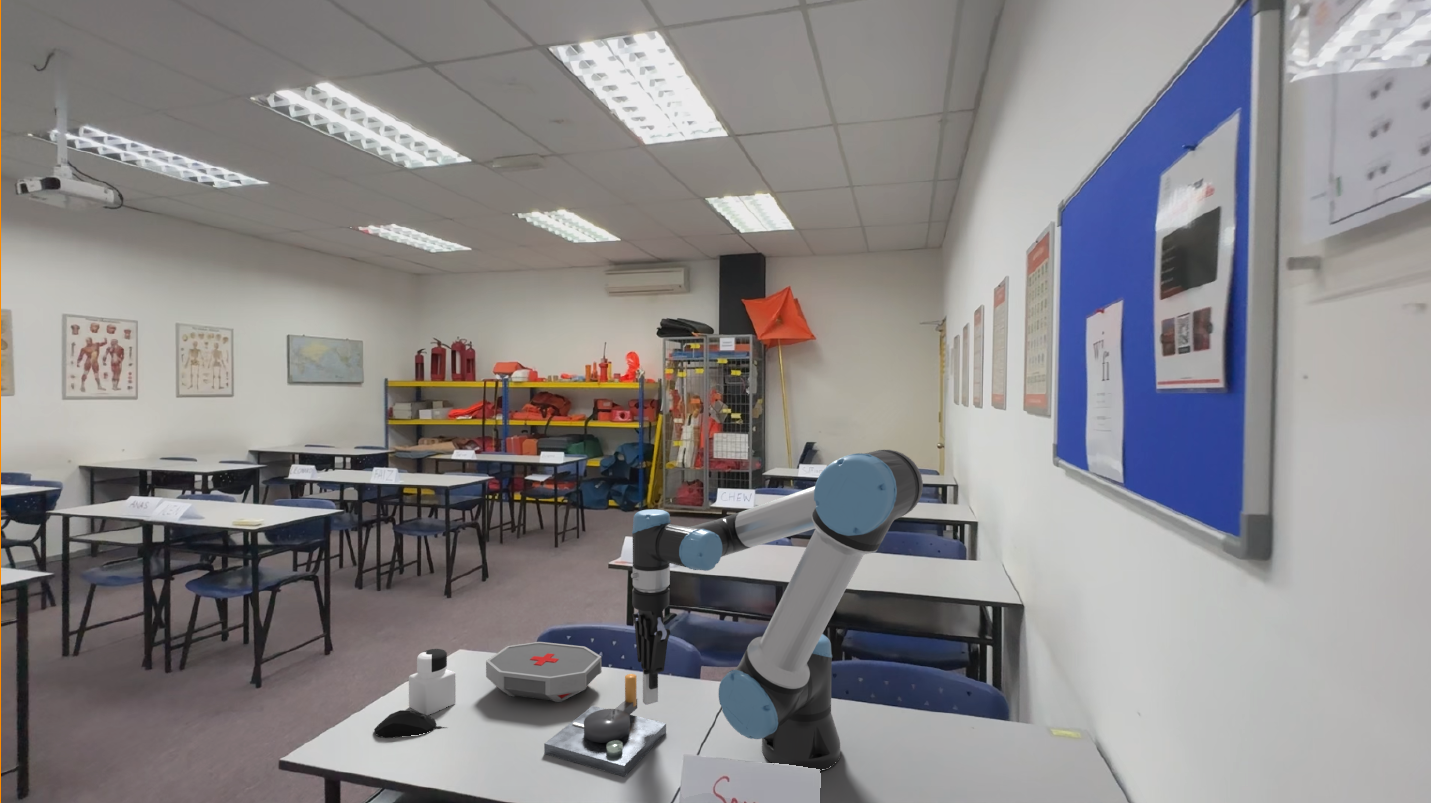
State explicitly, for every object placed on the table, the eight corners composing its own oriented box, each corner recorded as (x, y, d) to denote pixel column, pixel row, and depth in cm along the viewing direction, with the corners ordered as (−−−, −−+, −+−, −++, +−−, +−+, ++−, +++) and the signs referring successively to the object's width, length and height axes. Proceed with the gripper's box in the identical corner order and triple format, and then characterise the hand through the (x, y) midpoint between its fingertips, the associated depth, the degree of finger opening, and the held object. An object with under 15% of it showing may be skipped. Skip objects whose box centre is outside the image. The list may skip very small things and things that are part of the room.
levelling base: (666, 732, 129) (666, 716, 129) (624, 776, 114) (624, 758, 114) (592, 714, 136) (592, 699, 136) (544, 753, 121) (544, 736, 121)
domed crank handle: (613, 746, 119) (613, 710, 119) (574, 736, 123) (574, 700, 123) (652, 710, 133) (652, 677, 132) (615, 702, 136) (615, 670, 136)
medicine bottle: (438, 694, 145) (438, 643, 145) (456, 703, 141) (455, 650, 141) (408, 707, 139) (407, 653, 139) (425, 717, 135) (425, 661, 135)
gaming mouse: (444, 737, 128) (444, 718, 128) (368, 740, 127) (368, 720, 127) (454, 721, 134) (454, 703, 134) (383, 723, 133) (383, 705, 133)
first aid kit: (474, 701, 142) (576, 715, 136) (474, 668, 142) (576, 681, 136) (517, 668, 159) (609, 679, 153) (517, 639, 159) (608, 649, 153)
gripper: (621, 581, 132) (620, 692, 132) (647, 599, 120) (647, 721, 121) (653, 575, 135) (653, 684, 136) (682, 592, 124) (681, 710, 125)
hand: (650, 701), depth 128 cm, fingers closed
